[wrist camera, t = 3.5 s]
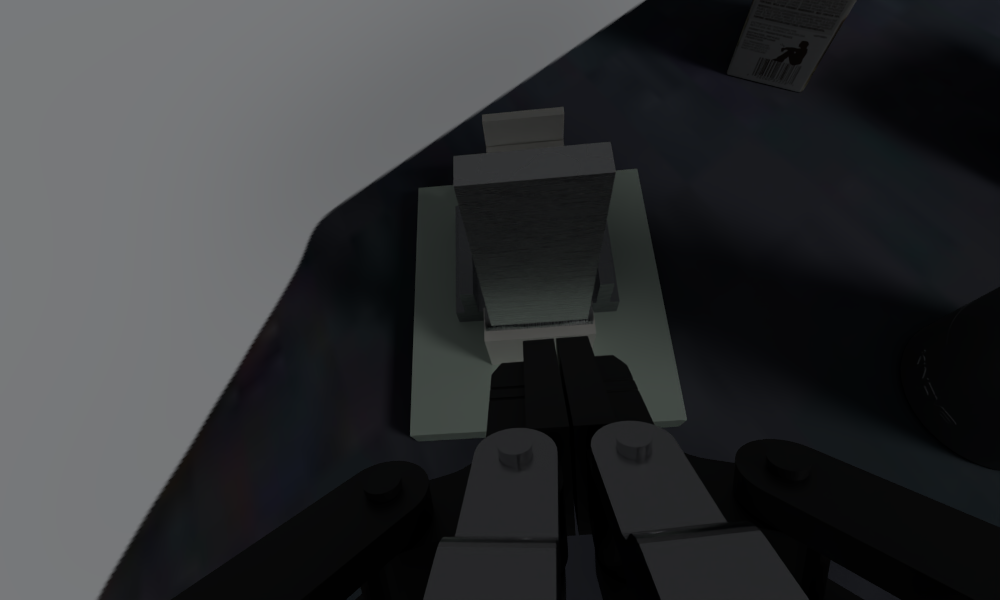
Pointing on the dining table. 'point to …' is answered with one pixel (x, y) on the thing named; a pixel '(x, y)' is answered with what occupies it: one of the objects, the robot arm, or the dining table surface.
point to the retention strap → (536, 230)
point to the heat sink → (472, 297)
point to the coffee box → (786, 40)
